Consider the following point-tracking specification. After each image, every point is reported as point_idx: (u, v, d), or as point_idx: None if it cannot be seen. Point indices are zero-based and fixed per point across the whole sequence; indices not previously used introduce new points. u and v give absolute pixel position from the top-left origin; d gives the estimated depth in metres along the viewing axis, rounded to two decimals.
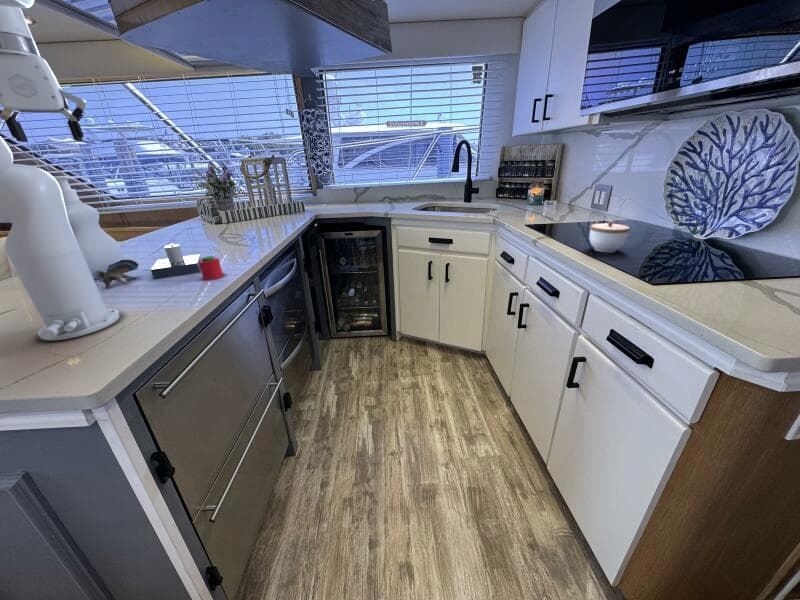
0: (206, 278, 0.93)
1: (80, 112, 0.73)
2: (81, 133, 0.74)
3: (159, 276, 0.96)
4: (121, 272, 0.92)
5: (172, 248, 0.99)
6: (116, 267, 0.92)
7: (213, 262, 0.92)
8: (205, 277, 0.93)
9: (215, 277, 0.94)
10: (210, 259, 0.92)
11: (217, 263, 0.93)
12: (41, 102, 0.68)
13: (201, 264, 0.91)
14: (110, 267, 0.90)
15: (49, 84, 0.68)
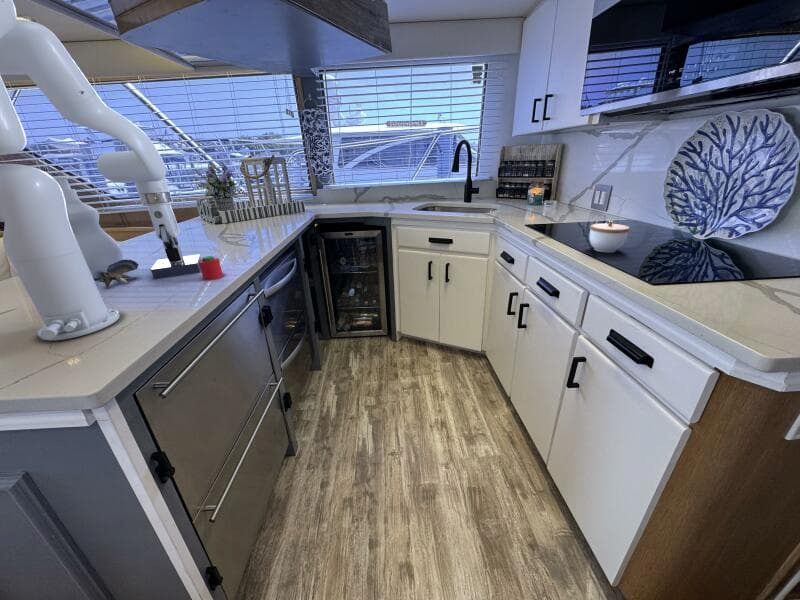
0: (206, 278, 0.93)
1: None
2: None
3: (159, 276, 0.96)
4: (121, 272, 0.92)
5: None
6: (116, 267, 0.92)
7: (213, 262, 0.92)
8: (205, 277, 0.93)
9: (215, 277, 0.94)
10: (210, 259, 0.92)
11: (217, 263, 0.93)
12: (178, 230, 1.01)
13: (201, 264, 0.91)
14: (110, 267, 0.90)
15: (175, 218, 1.01)
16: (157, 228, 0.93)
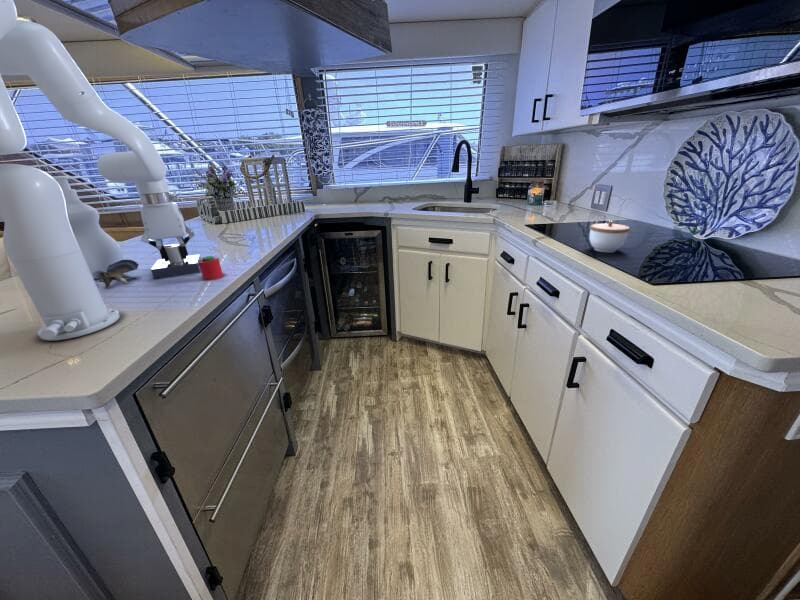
0: (206, 278, 0.93)
1: None
2: None
3: (159, 276, 0.96)
4: (121, 272, 0.92)
5: (179, 246, 1.01)
6: (116, 267, 0.92)
7: (213, 262, 0.92)
8: (205, 277, 0.93)
9: (215, 277, 0.94)
10: (210, 259, 0.92)
11: (217, 263, 0.93)
12: None
13: (201, 264, 0.91)
14: (110, 267, 0.90)
15: None
16: (183, 224, 0.98)
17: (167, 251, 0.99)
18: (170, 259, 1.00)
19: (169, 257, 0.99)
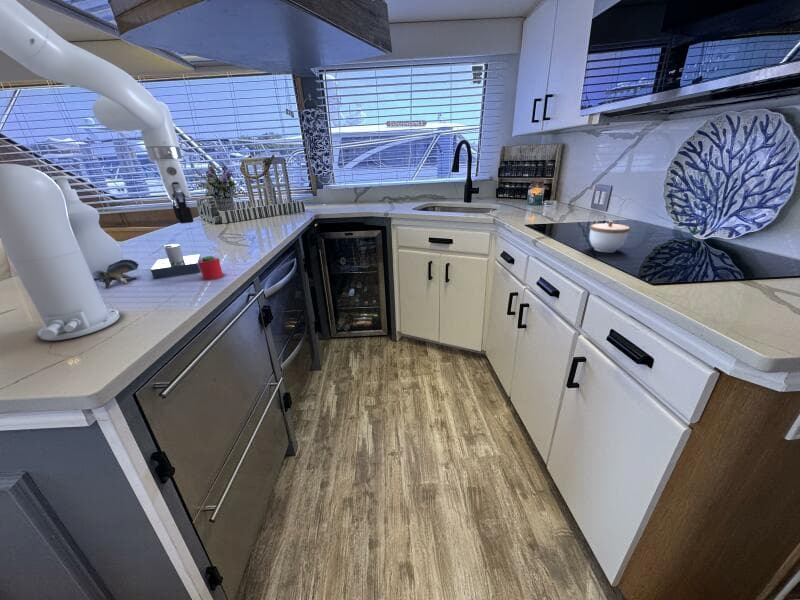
0: (206, 278, 0.93)
1: None
2: None
3: (159, 276, 0.96)
4: (121, 272, 0.92)
5: (179, 246, 1.01)
6: (116, 267, 0.92)
7: (213, 262, 0.92)
8: (205, 277, 0.93)
9: (215, 277, 0.94)
10: (210, 259, 0.92)
11: (217, 263, 0.93)
12: None
13: (201, 264, 0.91)
14: (110, 267, 0.90)
15: None
16: (170, 186, 0.84)
17: (167, 251, 0.99)
18: (170, 259, 1.00)
19: (169, 257, 0.99)
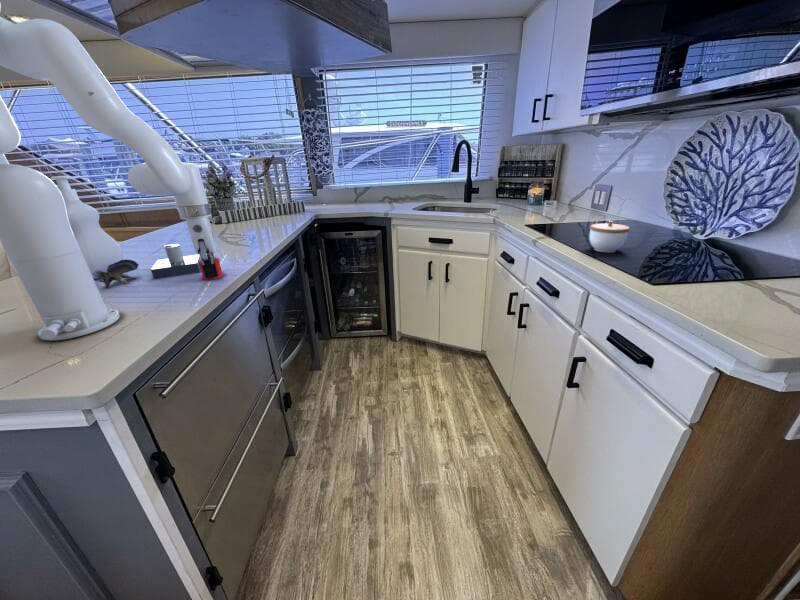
0: (206, 278, 0.93)
1: None
2: None
3: (159, 276, 0.96)
4: (121, 272, 0.92)
5: (179, 246, 1.01)
6: (116, 267, 0.92)
7: None
8: (205, 277, 0.93)
9: (215, 277, 0.94)
10: None
11: (217, 263, 0.93)
12: (215, 244, 0.95)
13: (201, 264, 0.91)
14: (110, 267, 0.90)
15: None
16: (196, 243, 0.86)
17: (167, 251, 0.99)
18: (170, 259, 1.00)
19: (169, 257, 0.99)
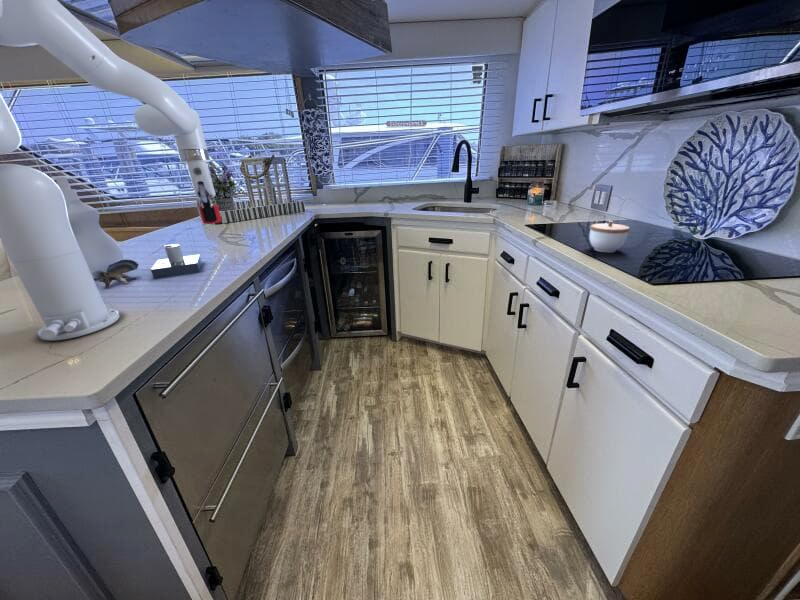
0: (205, 222, 0.99)
1: None
2: None
3: (159, 276, 0.96)
4: (121, 272, 0.92)
5: (179, 246, 1.01)
6: (116, 267, 0.92)
7: None
8: (205, 221, 0.99)
9: (214, 221, 1.00)
10: None
11: (216, 208, 0.99)
12: None
13: (201, 208, 0.97)
14: (110, 267, 0.90)
15: None
16: (196, 185, 0.92)
17: (167, 251, 0.99)
18: (170, 259, 1.00)
19: (169, 257, 0.99)
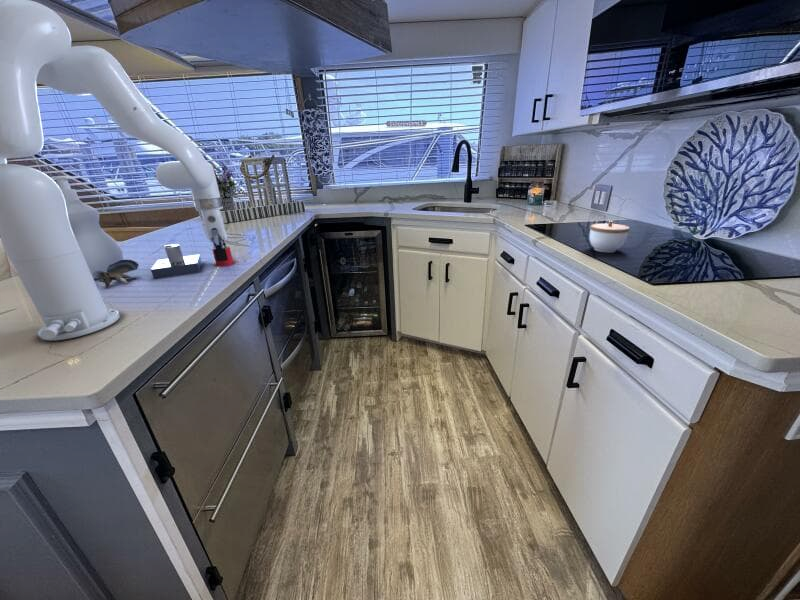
0: (219, 264, 1.06)
1: None
2: None
3: (159, 276, 0.96)
4: (121, 272, 0.92)
5: (179, 246, 1.01)
6: (116, 267, 0.92)
7: None
8: (218, 263, 1.06)
9: (226, 264, 1.06)
10: None
11: (228, 251, 1.06)
12: (226, 233, 1.07)
13: None
14: (110, 267, 0.90)
15: None
16: (210, 232, 0.99)
17: (167, 251, 0.99)
18: (170, 259, 1.00)
19: (169, 257, 0.99)
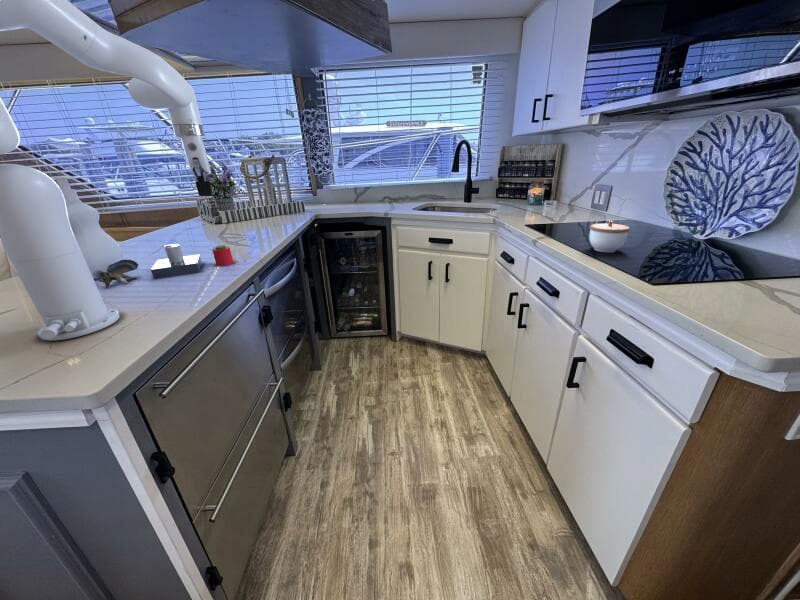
0: (219, 264, 1.06)
1: None
2: None
3: (159, 276, 0.96)
4: (121, 272, 0.92)
5: (179, 246, 1.01)
6: (116, 267, 0.92)
7: (225, 250, 1.05)
8: (218, 263, 1.06)
9: (226, 264, 1.06)
10: (222, 248, 1.05)
11: (228, 251, 1.06)
12: None
13: (215, 252, 1.04)
14: (110, 267, 0.90)
15: None
16: (191, 161, 0.91)
17: (167, 251, 0.99)
18: (170, 259, 1.00)
19: (169, 257, 0.99)
